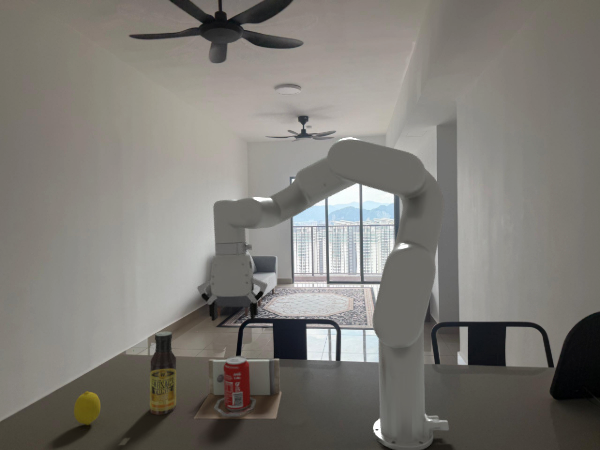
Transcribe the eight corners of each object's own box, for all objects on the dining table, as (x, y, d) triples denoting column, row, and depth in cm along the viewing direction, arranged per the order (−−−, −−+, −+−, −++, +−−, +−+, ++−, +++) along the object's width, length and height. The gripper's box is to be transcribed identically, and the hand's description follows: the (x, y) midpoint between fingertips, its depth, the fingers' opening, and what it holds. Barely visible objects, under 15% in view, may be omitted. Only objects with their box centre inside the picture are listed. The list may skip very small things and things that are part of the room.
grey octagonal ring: (258, 397, 102) (257, 394, 102) (251, 417, 92) (251, 413, 92) (221, 398, 102) (220, 395, 102) (210, 417, 93) (210, 413, 93)
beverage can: (252, 401, 100) (251, 355, 100) (247, 413, 94) (245, 364, 93) (228, 400, 101) (227, 354, 100) (221, 413, 94) (220, 364, 94)
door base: (281, 395, 105) (280, 358, 105) (276, 422, 91) (274, 380, 91) (210, 395, 106) (209, 359, 106) (193, 422, 92) (192, 380, 92)
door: (274, 392, 104) (274, 359, 104) (273, 397, 102) (272, 362, 101) (215, 393, 105) (213, 359, 105) (212, 397, 102) (211, 363, 102)
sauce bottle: (148, 420, 94) (145, 338, 93) (151, 408, 100) (148, 331, 99) (177, 416, 96) (174, 335, 95) (178, 404, 102) (175, 328, 101)
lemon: (95, 416, 97) (93, 384, 96) (105, 423, 93) (103, 390, 93) (70, 426, 92) (69, 392, 92) (80, 434, 89) (79, 399, 89)
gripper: (267, 247, 100) (270, 314, 100) (201, 250, 101) (204, 316, 101) (263, 249, 92) (266, 321, 92) (191, 252, 93) (194, 323, 93)
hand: (233, 318), depth 97 cm, fingers open, 9 cm apart
